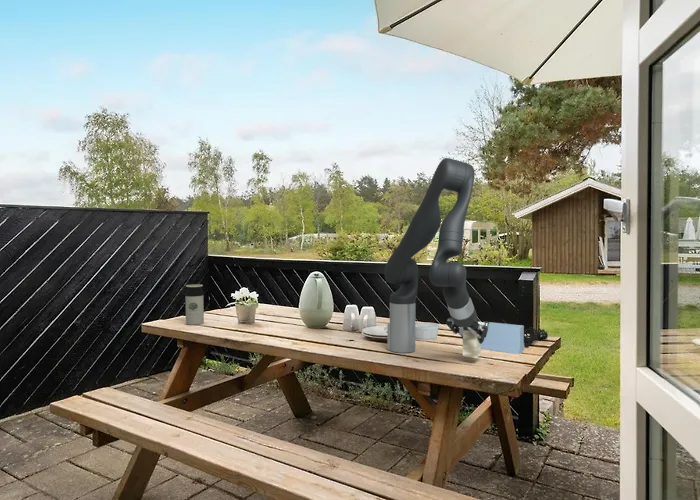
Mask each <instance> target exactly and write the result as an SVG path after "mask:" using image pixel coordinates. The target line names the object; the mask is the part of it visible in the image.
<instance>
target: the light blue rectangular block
mask: <svg viewBox="0 0 700 500" xmlns="http://www.w3.org/2000/svg"><path fill="white" fill-rule="evenodd" d="M488 322H489V321H488ZM483 323H485V321H483ZM481 329H482V328H481ZM524 329H525V326H524V325H522V324H511V323H501V322H489V326H488V332H487V335H486V338H484V342H482V344H481V350H486V351H493V352H499V353H500V352H501V353H506V354H507V353H509V354H510V353H511V354H515V355H520V354H521V353H523V352H524V351H525V346H524V345H525V343H524V332H525V330H524ZM482 331H483V330H482Z"/></svg>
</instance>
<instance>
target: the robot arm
mask: <svg viewBox="0 0 700 500" xmlns="http://www.w3.org/2000/svg"><path fill="white" fill-rule="evenodd" d="M475 175H476V174H475V168H474V166H473V165H472V164H470V163H467V162H464V161H460V160H458V159H453V158H450V157H449V158H448V157H445V158H443V159H442V160H441V161H440V162H439V164H438V165H437V166H436V169H435V172H434V173H433V177H432V178H431V180H430V183H429V186H428V188H427V189H426V192H425V195H424V197H423V199H422V201H421V202H420V205H419V207H418V208H417V210H416V212H415V213H414V215H413V217H412V219H411V221H410V223H409V224H408V228H407V229H406V231H405V233H404V235H403V237H402V239H401V240H400V242H399V244H398V245H397V247H396V249H395V250H394V251H393V252H392V254H391V255H390V257H389V259H388V260H387V262H386V264H385V267H384V278H385V280H386V282H387V283H389V284H392V285H400V287H399V288H398V289H397V290H396V291H394V292H393V293H391V294H390V295H389V322H388V323H387V326H386V328H387V331H386V332H387V335H386V336H387V338H386V339H387V342H386V343H387V346H386V347H387V348H386V349H387V350H388V351H391V352H394V353H402V354H403V353H404V354H405V353H406V354H407V353H412V352H415V351H416V338H415V323H416V298H417V296H418V287H419V286H418V283H419V267H418V264H417V262H416V260H415V259H414V258H413V257H414V256H415V255H417V254H418V253H419V252H421V251H422V250H424V249H425V248H426V247H427V246H428V245H429V244H430V243H431V242H432V241H433V240H434V238H435V236H436V235H437V232H438V243H437V249H436V252H435V254H434V258H433V260H432V263H431V265H430V267H429V272H428V278H429V280H430V283H431V284H432V286H434V287H442V288H443V289H442V295H443V298H444V300H445V303H446V305H447V309H448V311H449V314H450V316H448V317H447V320H446V323H445V324H446V326H447V327H448V328H449V329H450V330H451V332H452V333H453V334H455V335H457V334H459V336H461V339H462V340H463V332H464V330H469V331H471V332H472V333H473V334H475V335H476V336H477V338H478V340H479V343H480V344H482V342H484V338H486V335H487V332H488V326H489V321H487V320H486V321H483V322H482V321H481V320H480V319H479V318H478V314H477V312H476V309H475V306H474V304H473V301H472V298H471V297H470V295H469V292H468V289H467V268H466V266H465V265H464V264H463V263H461V262H458V261H449V262H447V261H448V260H449V259H451V258H454V257H457V256H460V255H461V254H462V251H463V246H464V245H463V243H464V242H463V241H464V230H465V229H464V227H465V221H466V219H467V213H468V209H469V206H470V205H469V204H470V201H471V197H472V191H473V186H474V181H475ZM443 190H446V191H447V190H448V191H452V192H455V193H457V197H456V201H455V204H454V205H453V207H452V208H451V209H450V211H449V212H448V213H447V214H446V215H445V217H444V218H443V220H442V217H441V211H440V201H439V199H440V196H441V193H442V192H443ZM484 322H485V323H484ZM480 326H481V328H482V329H481V328H480ZM482 330H483V331H482Z"/></svg>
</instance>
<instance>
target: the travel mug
mask: <svg viewBox="0 0 700 500" xmlns="http://www.w3.org/2000/svg"><path fill="white" fill-rule="evenodd" d="M203 286H204V285H203V284H199V283H198V284H197V283H196V284H195V283H194V284H193V283H192V284H186V285H185V287H186V291H185V295H184V296H185V297H184V298H185V324H186V325H189V326H197V325H198V326H199V325H203V324H204V323H205V322H204V321H205V320H204V319H205V313H204V312H205V309H204V307H205V306H204V291H203Z"/></svg>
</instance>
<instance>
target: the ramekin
mask: <svg viewBox="0 0 700 500" xmlns="http://www.w3.org/2000/svg"><path fill="white" fill-rule="evenodd" d="M439 329H440V324H438V323H435V322H428V321H427V322H415V340H416V339H417V340H421V341H432V340H436V339H437V338H438V333H439Z"/></svg>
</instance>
